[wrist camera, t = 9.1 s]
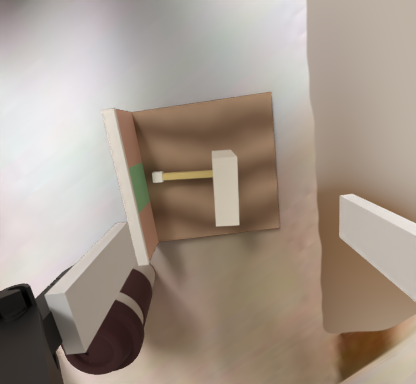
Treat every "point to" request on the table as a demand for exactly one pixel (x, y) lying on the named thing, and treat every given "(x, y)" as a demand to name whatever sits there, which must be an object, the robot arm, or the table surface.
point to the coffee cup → (120, 327)
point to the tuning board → (209, 163)
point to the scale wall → (131, 182)
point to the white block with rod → (216, 185)
